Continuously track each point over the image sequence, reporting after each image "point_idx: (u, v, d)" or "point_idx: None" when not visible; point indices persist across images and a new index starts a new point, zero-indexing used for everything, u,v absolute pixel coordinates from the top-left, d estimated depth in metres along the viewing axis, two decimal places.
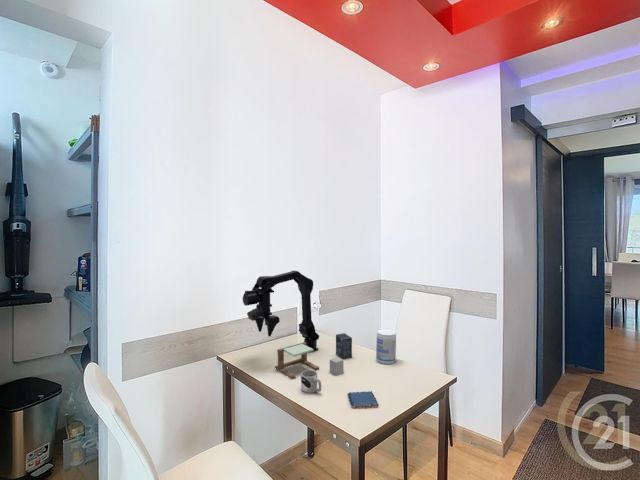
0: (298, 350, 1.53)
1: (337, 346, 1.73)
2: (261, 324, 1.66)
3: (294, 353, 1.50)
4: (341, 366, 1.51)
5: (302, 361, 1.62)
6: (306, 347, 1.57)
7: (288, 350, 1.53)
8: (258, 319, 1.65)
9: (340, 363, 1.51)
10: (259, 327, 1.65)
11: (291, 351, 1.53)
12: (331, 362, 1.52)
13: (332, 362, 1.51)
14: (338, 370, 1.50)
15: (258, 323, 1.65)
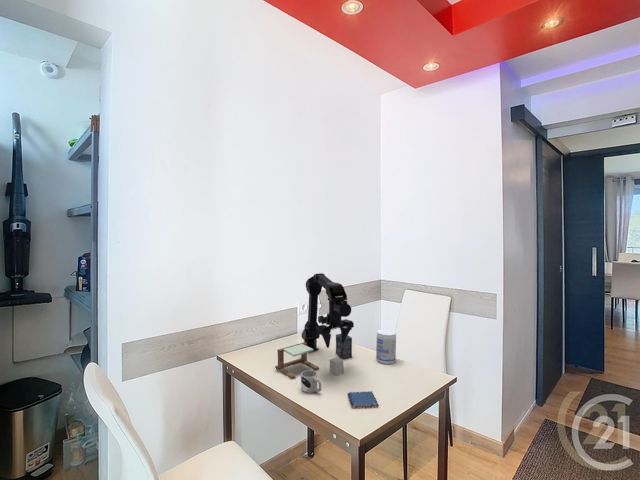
0: (298, 350, 1.53)
1: (337, 346, 1.73)
2: (344, 336, 1.54)
3: (294, 353, 1.50)
4: (341, 366, 1.51)
5: (302, 361, 1.62)
6: (306, 347, 1.57)
7: (288, 350, 1.53)
8: (342, 329, 1.55)
9: (340, 363, 1.51)
10: (342, 338, 1.55)
11: (291, 351, 1.53)
12: (331, 362, 1.52)
13: (332, 362, 1.51)
14: (338, 370, 1.50)
15: (341, 333, 1.55)
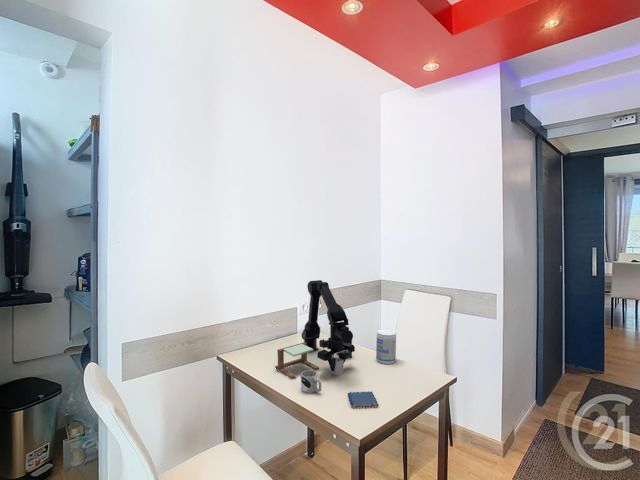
0: (298, 350, 1.53)
1: None
2: None
3: (294, 353, 1.50)
4: (341, 366, 1.51)
5: (302, 361, 1.62)
6: (306, 347, 1.57)
7: (288, 350, 1.53)
8: (340, 354, 1.54)
9: (340, 363, 1.51)
10: None
11: (291, 351, 1.53)
12: None
13: None
14: (338, 370, 1.50)
15: None
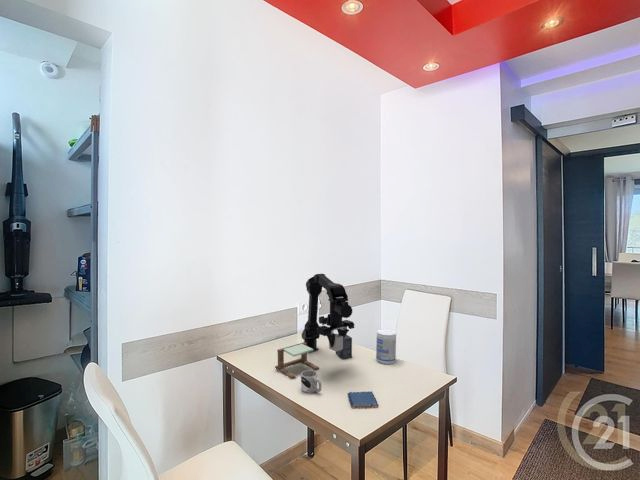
0: (298, 350, 1.53)
1: None
2: None
3: (294, 353, 1.50)
4: (341, 342, 1.51)
5: (302, 361, 1.62)
6: (306, 347, 1.57)
7: (288, 350, 1.53)
8: (339, 331, 1.54)
9: (339, 339, 1.50)
10: None
11: (291, 351, 1.53)
12: None
13: None
14: (337, 346, 1.50)
15: None
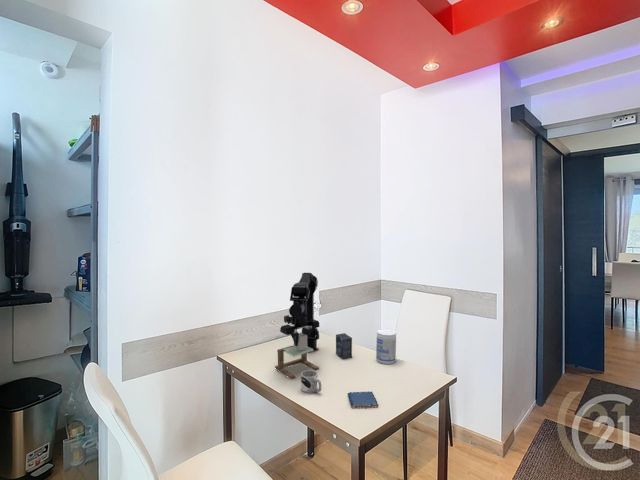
0: (298, 350, 1.53)
1: (337, 346, 1.73)
2: None
3: (294, 353, 1.50)
4: (305, 341, 1.52)
5: (302, 361, 1.62)
6: None
7: (288, 350, 1.53)
8: (304, 330, 1.55)
9: (303, 338, 1.52)
10: None
11: (291, 351, 1.53)
12: None
13: None
14: (301, 345, 1.51)
15: None
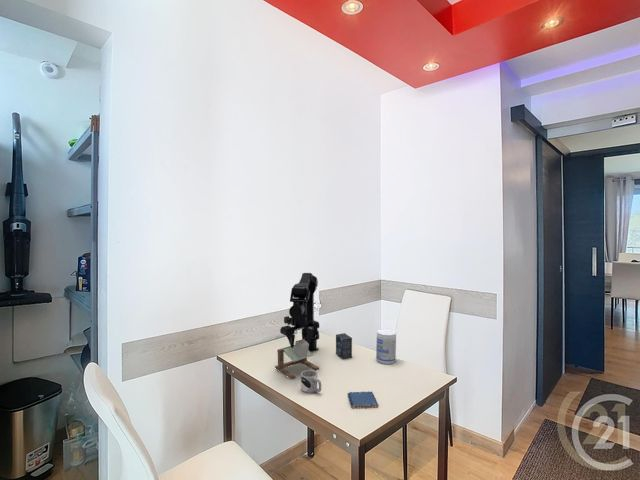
0: None
1: (337, 346, 1.73)
2: (309, 336, 1.56)
3: (294, 358, 1.50)
4: (306, 349, 1.52)
5: (302, 361, 1.62)
6: None
7: (288, 352, 1.53)
8: (308, 330, 1.57)
9: (305, 347, 1.51)
10: (307, 338, 1.56)
11: (291, 353, 1.53)
12: (296, 344, 1.52)
13: (297, 344, 1.51)
14: (301, 353, 1.51)
15: (307, 334, 1.57)
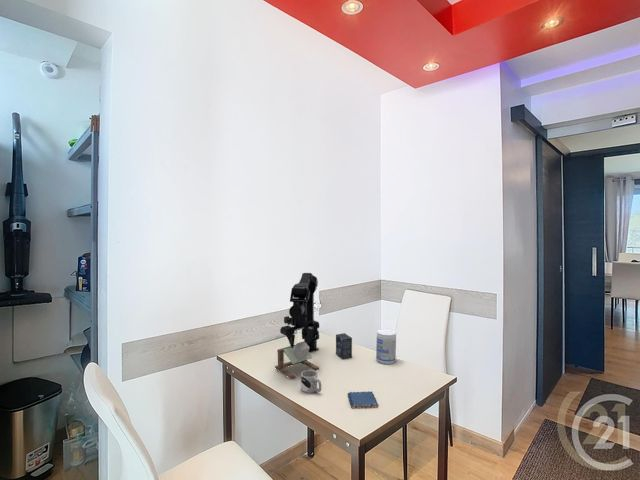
0: None
1: (337, 346, 1.73)
2: (309, 336, 1.56)
3: (293, 360, 1.50)
4: (306, 352, 1.52)
5: (302, 361, 1.62)
6: None
7: (288, 353, 1.53)
8: (308, 330, 1.57)
9: (305, 350, 1.51)
10: (307, 338, 1.56)
11: (291, 355, 1.53)
12: (297, 346, 1.51)
13: (298, 347, 1.51)
14: (301, 356, 1.51)
15: (307, 334, 1.57)
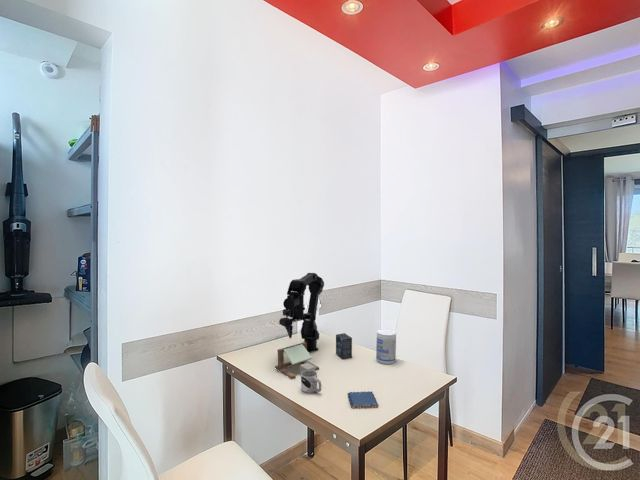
0: (297, 356, 1.54)
1: (337, 346, 1.73)
2: (306, 328, 1.67)
3: (293, 361, 1.50)
4: None
5: None
6: (305, 352, 1.57)
7: (288, 353, 1.53)
8: (305, 321, 1.69)
9: None
10: (304, 329, 1.68)
11: (290, 355, 1.53)
12: None
13: None
14: None
15: (304, 325, 1.69)
